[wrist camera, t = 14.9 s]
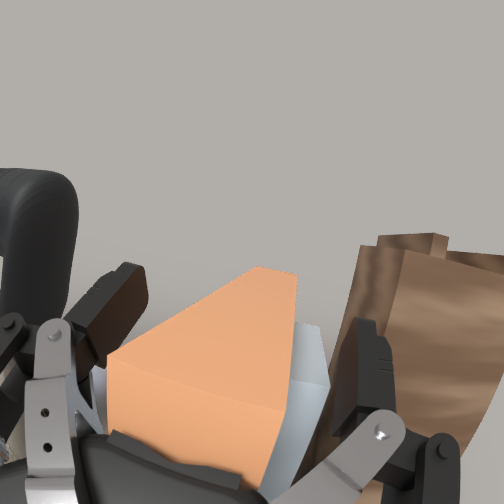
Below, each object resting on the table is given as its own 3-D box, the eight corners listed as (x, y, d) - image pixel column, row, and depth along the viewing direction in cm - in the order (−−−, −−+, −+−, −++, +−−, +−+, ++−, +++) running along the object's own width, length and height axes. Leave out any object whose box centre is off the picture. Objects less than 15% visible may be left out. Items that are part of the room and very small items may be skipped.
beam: (246, 517, 6) (285, 411, 5) (111, 469, 6) (107, 355, 6) (288, 314, 29) (297, 274, 29) (248, 305, 30) (257, 265, 30)
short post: (246, 566, 17) (330, 386, 15) (149, 537, 18) (156, 342, 16) (262, 495, 28) (318, 326, 27) (185, 474, 30) (213, 302, 28)
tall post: (358, 572, 15) (533, 264, 13) (266, 569, 16) (409, 226, 14) (351, 505, 27) (455, 255, 24) (277, 498, 28) (363, 231, 26)
